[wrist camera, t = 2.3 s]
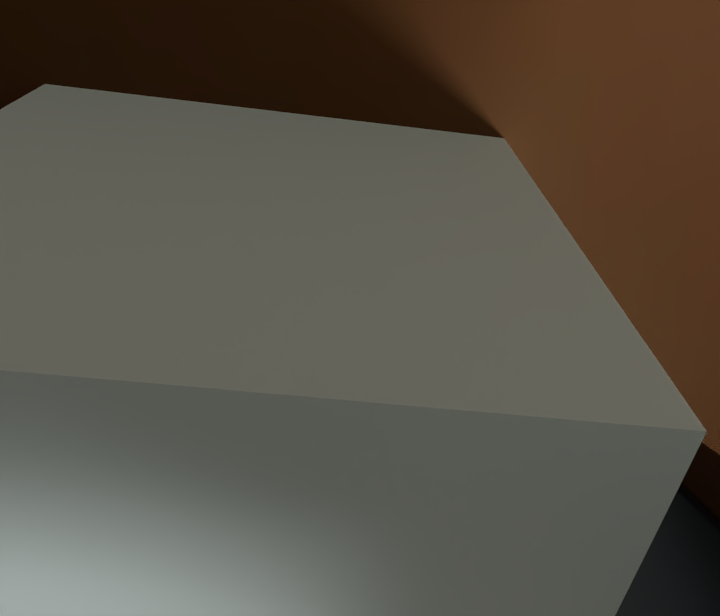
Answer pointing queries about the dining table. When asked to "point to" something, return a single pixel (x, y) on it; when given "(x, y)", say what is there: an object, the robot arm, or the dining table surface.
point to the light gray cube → (309, 373)
